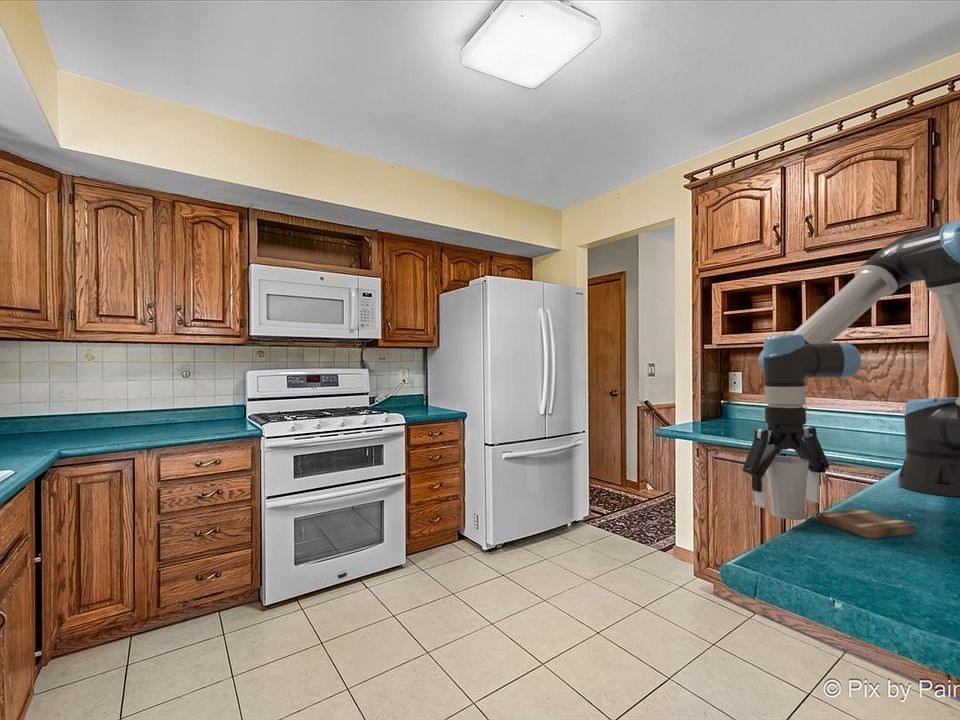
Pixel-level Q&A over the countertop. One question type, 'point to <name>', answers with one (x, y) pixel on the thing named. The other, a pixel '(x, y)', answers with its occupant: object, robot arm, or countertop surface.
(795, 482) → the cup
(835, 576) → the countertop surface
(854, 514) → the striped wooden coaster
